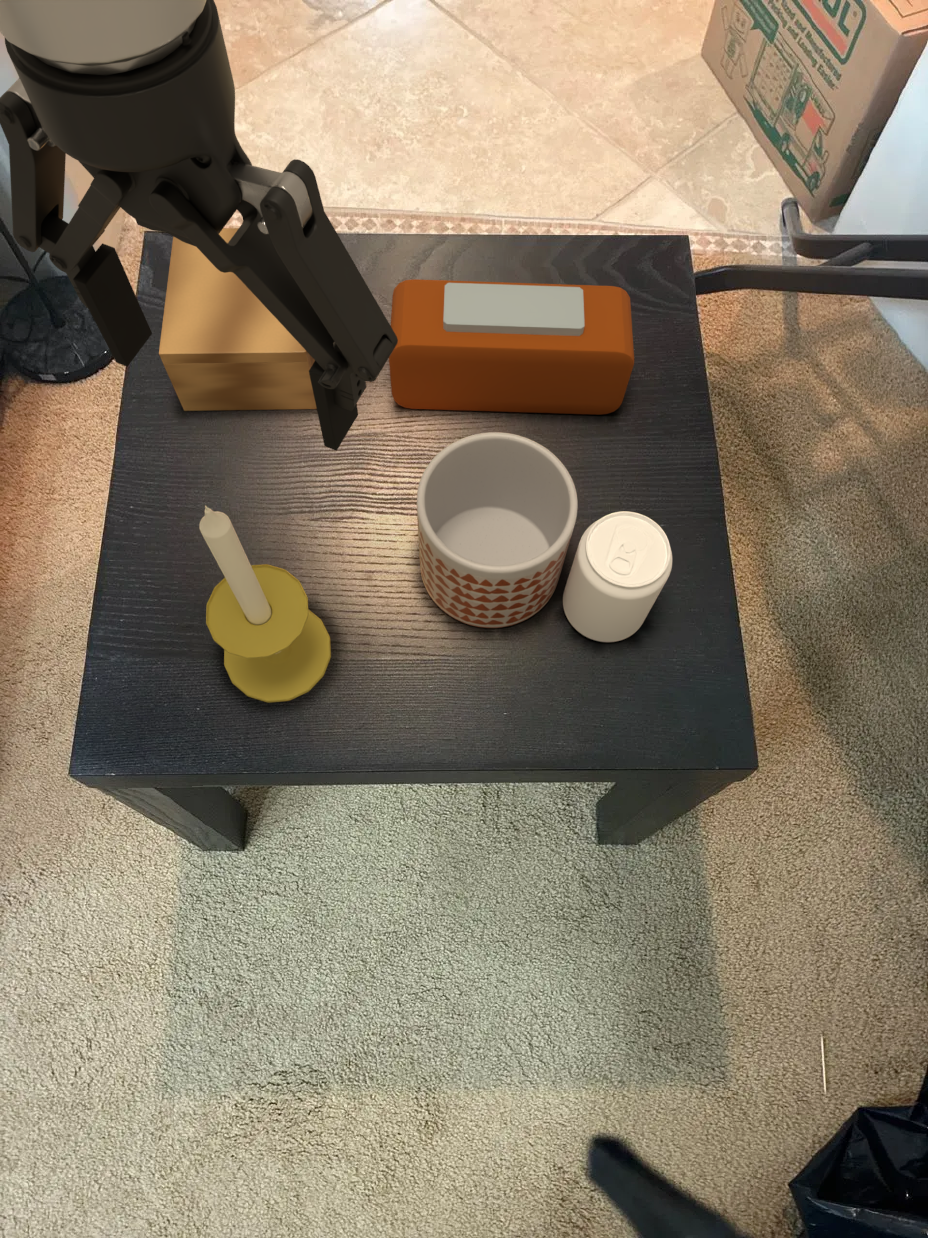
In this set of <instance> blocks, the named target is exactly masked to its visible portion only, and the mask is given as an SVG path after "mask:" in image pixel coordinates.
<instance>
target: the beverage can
mask: <svg viewBox="0 0 928 1238" xmlns="http://www.w3.org/2000/svg"><path fill="white" fill-rule="evenodd" d="M672 568H673V551H672V548H671V544H670V540H669V538H668V536H667V534H666V532H665V531H664V529H663V528H662V527H661V526H660V525H659V524H658V523H657V522H656V521H655V520H653V519H651V517H648V516H647V515H645V514H641V513H638V512H634V511H628V510H627V511H626V510H625V511H623V510H622V511H615V512H612V513H609V514H606V515H604V516H602V517H601V518H599V519H598V520H596V521H594V522H593V523H592V524H590V525H589V526H588V527H587V528H586V530H585V531H584V532H583V533H582V535H581V537H580V539H579V542H578V544H577V548H576V551H575V554H574V557H573V561H572V564H571V567H570V571H569V574H568V577H567V579H566V584H565V587H564V590H563V594H562V608H563V611H564V615H565V616H566V618H567V621H568V622H569V624H570V625H571V626H572V627H573V628H574V629H575V630H576V631H577V632H578V633H579V634H581V635H582V636H583V637H586V638H587V639H589V640H593V641H596V642H600V643H615V642H619V641H623V640H625V639H628V638H630V637H631V636H633V635H634V634H635V633H636V632H637V631H638V630H640V628H641V627H642V625H643V624H644V622H645V621H646V618H647V617H648V615H649V613H650V611H651V609H652V608H653V606H654V604H655V602H656V601H657V599H658V597H659V596H660V593H661V592H662V591H663V589H664V586H665V584H666V583H667V581H668V579H669V577H670V575H671V572H672Z"/></svg>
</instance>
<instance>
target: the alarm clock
mask: <svg viewBox="0 0 928 1238" xmlns="http://www.w3.org/2000/svg"><path fill="white" fill-rule="evenodd" d="M391 298H392V299H391V312H390V314H391V315H390V326H391V328H392V329H393V331H394V333H395V334H396V336H397V339H398V343H397V345H396V346H395V348H394V350H393V352H392V353H391V355H390V357H389V358H388V366H389V367H388V368H389V378H390V391H391V396H392V399H393V400H394V402H395V403H396V404H397V405H399V406H400V407H403V408H405V409H412V410H418V409H419V410H441V411H473V412H475V411H477V412H501V413H502V412H505V413H535V414H537V413H538V414H565V415H566V414H567V415H568V414H570V415H598V416H599V415H601V416H602V415H608V414H611V413H614V412H615V411H617V410H618V409H619V408H620V407H621V405H622V404H623V402H624V398H625V395H626V391H627V389H628V385H629V381H630V378H631V375H632V371H633V369H634V366H635V350H634V336H633V335H634V334H633V320H632V306H631V303H632V302H631V297H630V295H629V294H628V292H627V291H626V290H625V289H623V288H622V287H619V286H614V285H590V284H566V283H565V284H564V283H563V284H560V283H535V282H534V283H533V282H530V283H529V282H505V281H504V282H501V281H476V280H475V281H473V280H449V279H448V280H445V279H443V280H442V279H419V278H418V279H417V278H416V279H415V278H412V279H404V280H403V281H401V282H399V283H398V284H397V285H396V286H395V287H394V288H393V291H392V297H391Z"/></svg>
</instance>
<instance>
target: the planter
mask: <svg viewBox="0 0 928 1238" xmlns="http://www.w3.org/2000/svg"><path fill="white" fill-rule="evenodd" d="M416 491H417V492H416V518H417V537H418V556H419V570H420V575H421V576H420V577H421V579H422V583H423V586H424V588H425V590H426V592H427V594H428V595H429V597H430V598H431V600H432V601H433V602H434V603H435V605H436V606H437V607H438V608H439V609H441V611H443V613H445V614H447V616H449V617H451V618H453V619H455V620H456V621H458V622H461V623H463V624H467V625H469V626H473V627H476V628H482V629H483V628H484V629H500V628H505V627H511V626H514V625H518V624H520V623H522V622H524V621H526V620H528V619H530V618H532V617H533V616H535V615H536V614H537V613H539V612H540V611H541V610H542V609H543V608H544V607H545V606H546V605H547V604H548V602H549V601H550V599H551V598H552V597H553V594H554V593H555V591H556V589H557V586H558V583H559V580H560V577H561V574H562V569H563V568H564V567H563V566H564V563H565V560H566V556H567V553H568V549H569V546H570V544H571V543H570V542H571V539H572V536H573V532H574V528H575V525H576V522H577V518H578V517H577V516H578V509H579V508H578V507H579V502H578V493H577V489H576V486H575V482H574V480H573V478H572V476H571V474H570V472H569V471H568V468H567V467H566V466H565V465H564V464H563V462H562V461H561V460H560V459H559V458H558V456H557V455H555V454H554V453H553V452H552V451H551V450H549V449H548V448H547V447H545V446H543V445H542V444H541V443H539V442H536V441H534V440H533V439H530V438H528V437H525V436H522V435H519V434H515V433H509V432H498V431H490V432H489V431H488V432H481V433H475V434H471V435H467V436H465V437H463V438H460V439H458V440H455V441H453V442H452V443H450V444H448V445H446V446H445V447H444V448H443V449H442V450H440V451H439V452H438V453H437V454H436V455H435V456H434V457H433V458H432V459H431V460H430V462H429V463H428V464H427V466H426V467H425V469H424V471H423V473H422V475H421V477H420V480H419V483H418V486H417V490H416Z"/></svg>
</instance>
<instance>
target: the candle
mask: <svg viewBox="0 0 928 1238" xmlns="http://www.w3.org/2000/svg"><path fill="white" fill-rule="evenodd" d="M204 508H205V509H204V516H203V517H201V519H200V521H199V524H198V525H199V528H198V529H199V531H200V533H201V535H202V537H203V539H204V541H205V543H206V545H207V546H208V548H209V550H210V552H211V554H212V556H213V557H214V559H215V561H216V564H217V565H218V567H219V570H220V571H221V572H222V573H221V574H222V575H223V576H224V577H223V579H221V580H220V581H219V582H218V583H217V584H216V585H215V586H214V587H213V590H212V592H211V594H210V597H209V599H208V600H207V602H206V606H205V607H206V609H205V611H206V612H205V624H206V626H207V628H208V630H209V633H210V635H211V637H212V640H213V641H214V642H215V643H216V644H217V645H219V646H220V647H221V648H222V649H223V653H224V654H223V655H224V656H223V665H224V668H225V670H226V672H227V675H228V677H229V679H230V682H231V683H232V685H234V686H235V687H236V688H237V689H238V690H239V691H241V692H242V693H243V694H244V695H245V696H246V697H248V698H250V699H251V698H252V699H254V700H257V701H261V702H264V703H267V704H268V703H269V704H270V703H281V702H290V701H292V700H294V699H296V698H298V697H301V696H303V695H305V694H307V693H309V692H310V691H311V690H312V689H313V688H314V687H315V686H316V685H317V684H318V683H319V682H320V681H321V679H322V678H323V677H324V676H325V673H326V671H327V668H328V666H329V664H330V661H331V658H332V649H331V648H332V647H331V645H332V644H331V636H330V634H329V631H328V630H327V628H326V625H325V624H324V622H323V620H322V619H321V618H320V617H319V616H317V615H316V614H315V613H314V612H312V611H311V610H310V609H309V597H308V595H307V593H306V590H305V589H304V588H303V587H304V586H303V585H302V583H301V582H300V580H299V579H298V578H297V577H295V576H294V575H293V574H292V573H290V572H289V571H288V570H287V569H285V568H282V567H278V566H274V565H271V564H269V563H268V564H267V563H264V564H262V563H261V564H251V563H250V559H249V558H248V556H247V554H246V551H245V550H244V547H243V545H242V543H241V541H240V539H239V536H238V534H237V532H236V530H235V528H234V525H233V523H232V521H231V519H230V517H229V515H227V514H226V513H224V512H222V511H219V510H217V511H214V510H213V509H212V508H210V507H208V505H204Z"/></svg>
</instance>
